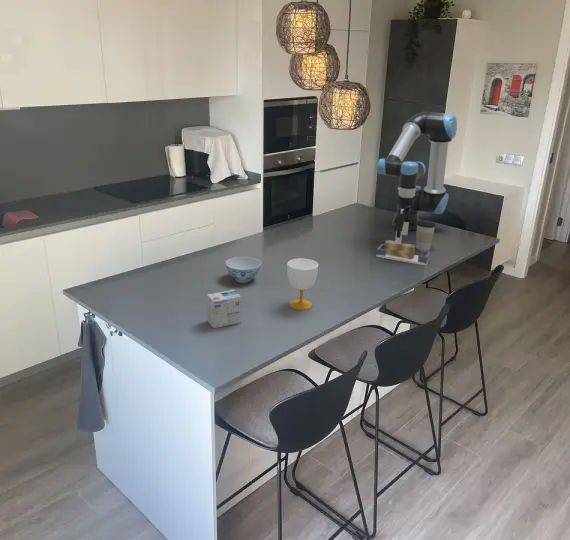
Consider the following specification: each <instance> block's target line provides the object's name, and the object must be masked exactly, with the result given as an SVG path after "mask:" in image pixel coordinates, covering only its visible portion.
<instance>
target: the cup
mask: <svg viewBox="0 0 570 540" xmlns="http://www.w3.org/2000/svg"><path fill="white" fill-rule="evenodd" d="M286 268H287V269H286V270H287V279H288V281H289V284H290V285H291V287H292V288H294V289H295V290H297V291H299V298H298V299H293V300H291V301H289V303H288V305H289V307H290V308H292V309H295V310H299V311H305V310H306V311H307V310H309V309H311V308H312V307H313V303H312V302H311V301H309V300H307V299H303V294H304V291H306V290H307V291H308V290H310V289H311V288H312V287H313V286H314V285H315V283H316V280H317V276H318V271H319V263H318V262H317V261H315V260H313V259H309V258H292V259H290V260H289V261H287V263H286Z"/></svg>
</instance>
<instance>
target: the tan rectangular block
mask: <svg viewBox="0 0 570 540" xmlns="http://www.w3.org/2000/svg"><path fill="white" fill-rule="evenodd" d="M384 244H385V245H384V249H386V254H387V255H392V256H397V257H402V258H406V259H411V260H412V259H413V258H414V255H416V253H415V252H416V244H410V243H405V242H401V244H396V243H395V240H390V239H387V240H385V241H384Z"/></svg>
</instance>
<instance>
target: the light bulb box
mask: <svg viewBox="0 0 570 540" xmlns="http://www.w3.org/2000/svg"><path fill="white" fill-rule="evenodd" d="M241 299H242V296H241V295H240V294H239V293H238V292H237V291H236V290H235V289H228V290H224V291H220V292H219V291H218V292H214V293H208V294H206V307H207V322H208V323H209V324H210V326H211V327H212V328H213V329H217V328H221V327H222V328H223V327H226V326H232V325H236V324H241V323H242V317H241V316H242V313H241V312H242V310H241V309H242V305H241V302H242V300H241Z"/></svg>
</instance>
